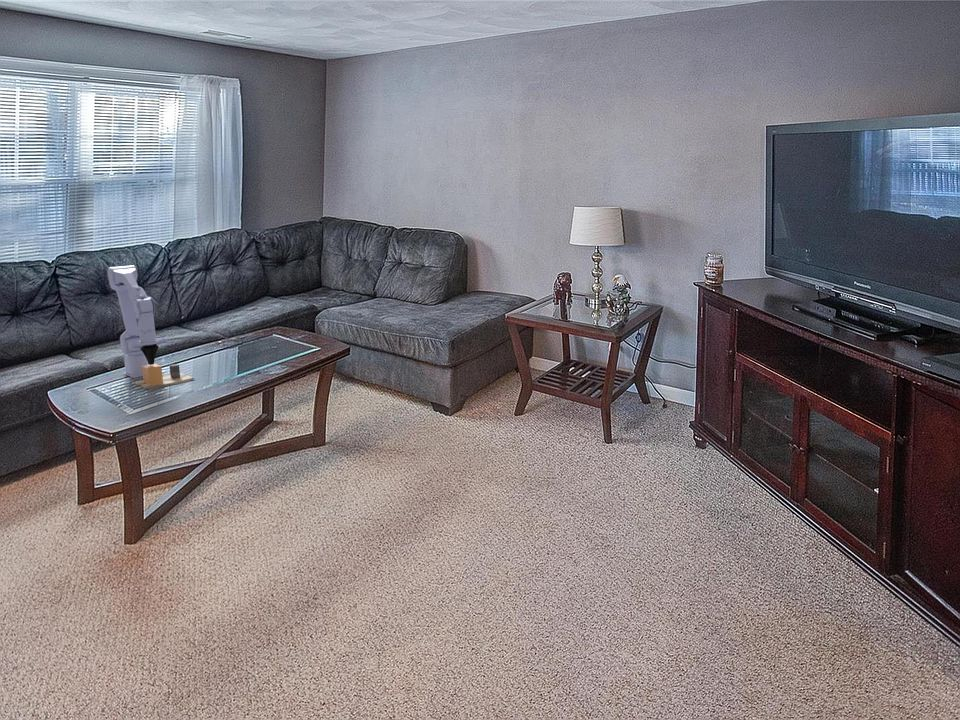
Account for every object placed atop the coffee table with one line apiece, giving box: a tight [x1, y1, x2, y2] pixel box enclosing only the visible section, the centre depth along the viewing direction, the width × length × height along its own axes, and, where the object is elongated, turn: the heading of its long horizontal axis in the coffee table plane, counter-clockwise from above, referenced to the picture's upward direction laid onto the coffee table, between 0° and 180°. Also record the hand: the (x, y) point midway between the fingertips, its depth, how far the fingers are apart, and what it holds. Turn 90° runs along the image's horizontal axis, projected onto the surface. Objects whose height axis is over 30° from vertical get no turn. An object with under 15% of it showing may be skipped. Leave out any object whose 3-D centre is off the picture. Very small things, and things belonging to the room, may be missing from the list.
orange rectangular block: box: [142, 362, 163, 385], centre depth 286 cm, size 5×5×7 cm
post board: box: [134, 363, 195, 391], centre depth 289 cm, size 12×18×6 cm, turn 139°
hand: (151, 364), depth 285 cm, fingers closed
